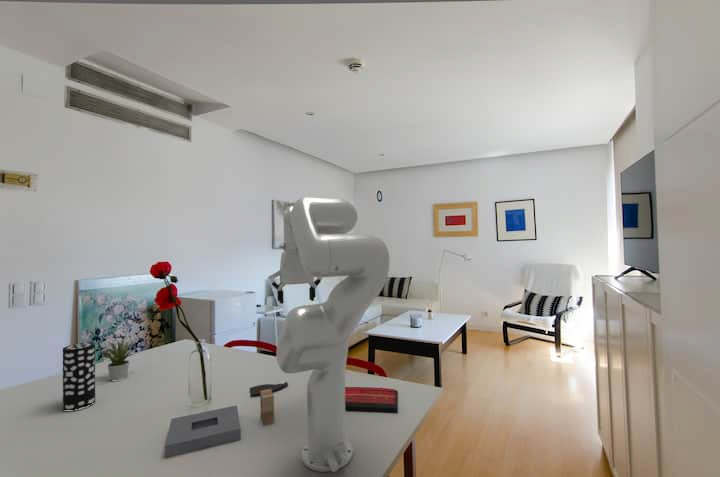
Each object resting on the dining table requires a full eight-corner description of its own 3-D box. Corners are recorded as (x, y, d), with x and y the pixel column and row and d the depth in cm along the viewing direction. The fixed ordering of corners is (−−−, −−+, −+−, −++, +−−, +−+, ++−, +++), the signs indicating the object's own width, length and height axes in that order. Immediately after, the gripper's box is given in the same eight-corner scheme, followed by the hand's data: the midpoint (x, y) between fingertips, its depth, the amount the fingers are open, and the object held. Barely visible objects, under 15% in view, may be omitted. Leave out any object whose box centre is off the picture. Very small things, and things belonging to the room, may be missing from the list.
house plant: (134, 368, 145) (134, 331, 145) (148, 375, 136) (148, 335, 137) (94, 379, 133) (94, 339, 133) (106, 387, 125) (106, 344, 125)
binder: (397, 407, 101) (330, 405, 104) (397, 415, 101) (330, 412, 104) (397, 387, 117) (339, 385, 120) (397, 393, 117) (339, 392, 120)
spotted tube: (97, 405, 111) (97, 345, 111) (64, 414, 105) (64, 351, 105) (93, 397, 117) (92, 341, 117) (61, 406, 111) (61, 346, 111)
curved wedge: (290, 392, 119) (289, 388, 119) (250, 399, 114) (250, 394, 114) (286, 383, 126) (286, 379, 126) (249, 389, 122) (249, 385, 122)
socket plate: (240, 439, 89) (240, 428, 89) (164, 458, 82) (164, 446, 82) (237, 415, 102) (236, 405, 102) (171, 429, 95) (171, 418, 95)
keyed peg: (274, 422, 97) (273, 395, 98) (263, 425, 96) (262, 397, 96) (271, 414, 102) (270, 388, 102) (260, 417, 101) (260, 390, 101)
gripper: (269, 248, 97) (270, 306, 97) (325, 247, 104) (326, 301, 104) (266, 248, 104) (267, 302, 104) (319, 246, 111) (320, 297, 111)
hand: (296, 301), depth 104 cm, fingers open, 9 cm apart
